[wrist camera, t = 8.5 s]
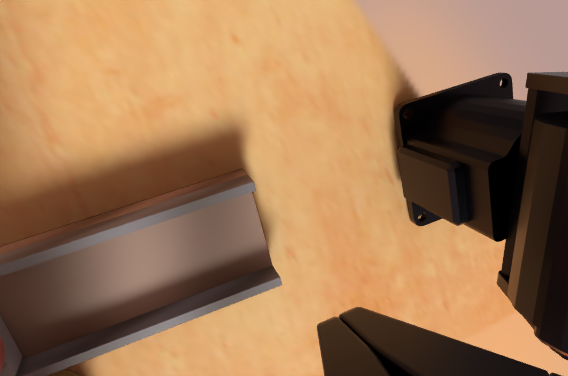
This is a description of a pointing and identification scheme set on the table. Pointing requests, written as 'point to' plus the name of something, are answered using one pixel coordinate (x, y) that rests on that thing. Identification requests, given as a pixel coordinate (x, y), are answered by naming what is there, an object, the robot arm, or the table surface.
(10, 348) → the plug
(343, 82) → the table surface
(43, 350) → the track
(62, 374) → the olive rounded upright piece
